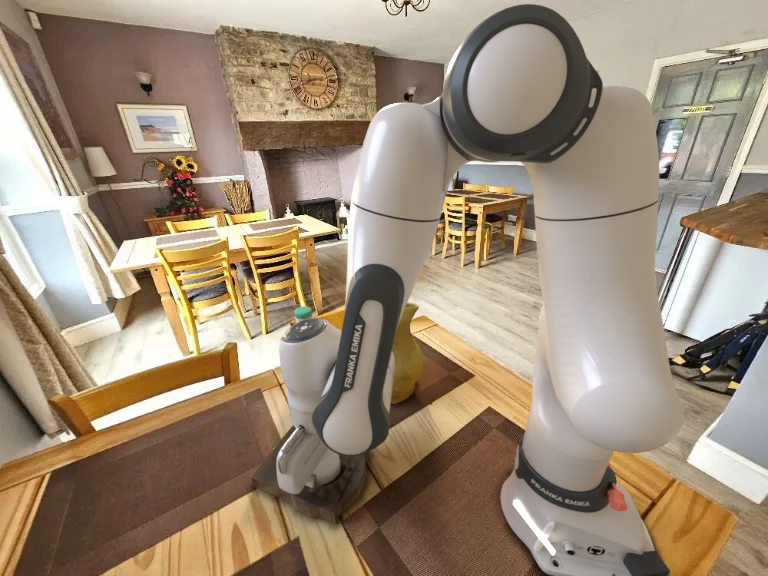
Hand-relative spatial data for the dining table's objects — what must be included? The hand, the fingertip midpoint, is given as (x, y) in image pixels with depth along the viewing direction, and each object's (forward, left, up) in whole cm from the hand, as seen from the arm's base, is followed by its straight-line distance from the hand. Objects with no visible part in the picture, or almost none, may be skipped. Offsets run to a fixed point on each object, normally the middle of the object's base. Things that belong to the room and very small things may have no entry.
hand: (325, 460), depth 59 cm
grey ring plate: (+3, 0, -5) cm, 6 cm away
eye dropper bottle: (0, 0, -5) cm, 5 cm away
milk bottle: (+21, -26, -5) cm, 34 cm away
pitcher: (-2, -28, -5) cm, 28 cm away
